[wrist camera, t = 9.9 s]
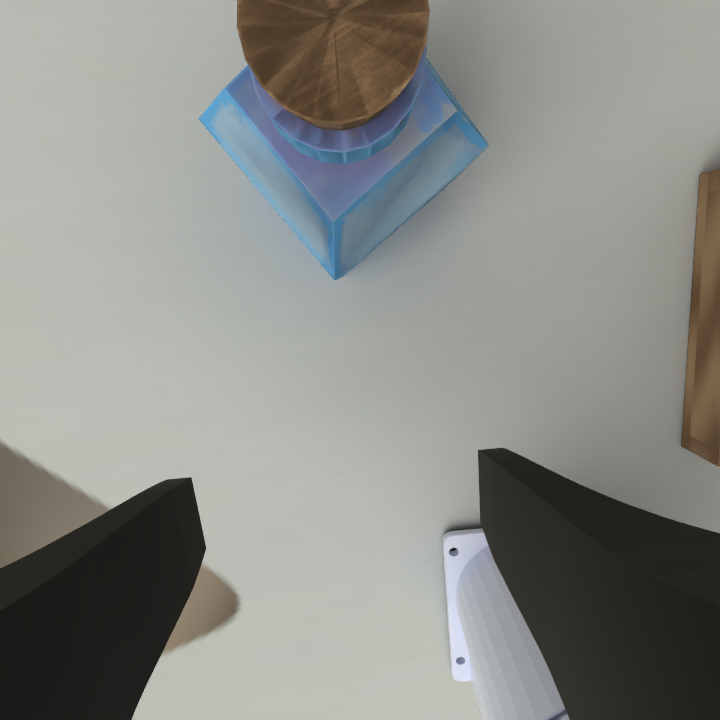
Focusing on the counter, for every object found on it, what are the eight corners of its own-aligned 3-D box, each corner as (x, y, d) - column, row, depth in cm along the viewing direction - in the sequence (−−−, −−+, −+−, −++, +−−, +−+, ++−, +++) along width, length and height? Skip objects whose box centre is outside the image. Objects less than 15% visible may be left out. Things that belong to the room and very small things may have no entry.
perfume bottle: (357, 66, 18) (354, -338, 6) (446, 185, 19) (596, 44, 7) (250, 168, 18) (62, -9, 7) (342, 276, 19) (317, 288, 8)
